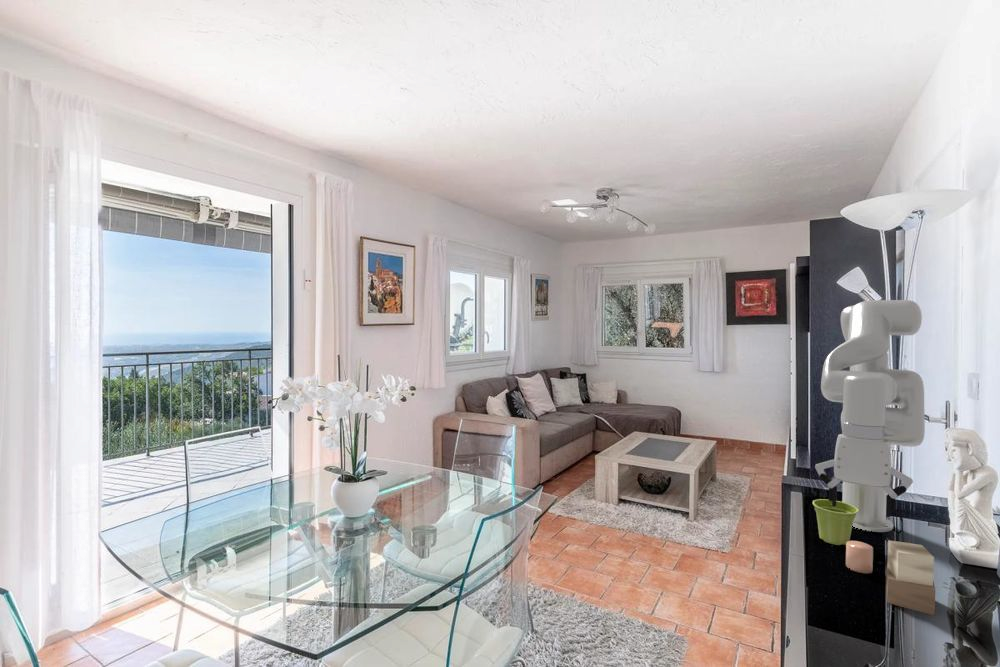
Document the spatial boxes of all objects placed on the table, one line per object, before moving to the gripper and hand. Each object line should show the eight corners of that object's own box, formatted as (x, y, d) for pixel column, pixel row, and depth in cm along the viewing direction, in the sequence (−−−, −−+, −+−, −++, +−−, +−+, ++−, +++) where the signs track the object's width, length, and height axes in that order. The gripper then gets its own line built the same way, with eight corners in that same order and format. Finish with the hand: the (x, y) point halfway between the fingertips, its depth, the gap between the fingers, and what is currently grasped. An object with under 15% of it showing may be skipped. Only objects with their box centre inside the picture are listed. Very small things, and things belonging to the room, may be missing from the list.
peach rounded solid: (845, 560, 115) (846, 538, 115) (872, 566, 112) (872, 544, 112) (845, 569, 111) (846, 546, 111) (872, 575, 108) (873, 552, 108)
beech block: (887, 567, 102) (888, 540, 102) (921, 572, 100) (922, 544, 100) (897, 580, 97) (898, 552, 97) (932, 586, 95) (934, 557, 95)
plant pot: (814, 529, 132) (815, 496, 132) (858, 539, 126) (859, 504, 126) (808, 541, 125) (809, 506, 124) (855, 553, 119) (856, 516, 118)
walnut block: (886, 587, 104) (887, 563, 104) (930, 599, 100) (931, 574, 100) (887, 603, 98) (887, 578, 98) (934, 616, 94) (935, 589, 94)
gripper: (912, 434, 109) (909, 513, 109) (817, 424, 118) (815, 496, 119) (915, 440, 102) (913, 524, 103) (815, 429, 112) (812, 505, 113)
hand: (860, 509), depth 111 cm, fingers open, 9 cm apart
